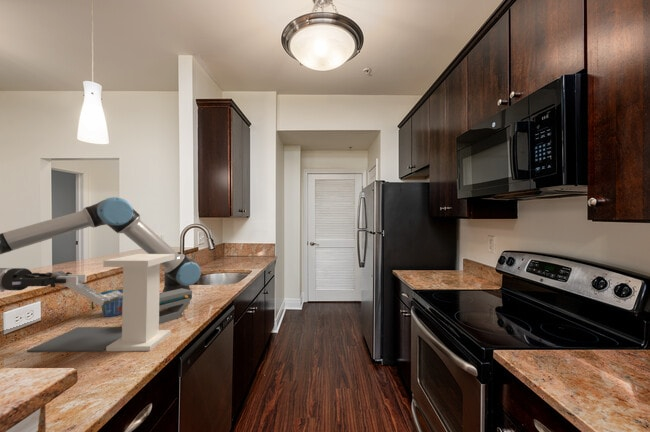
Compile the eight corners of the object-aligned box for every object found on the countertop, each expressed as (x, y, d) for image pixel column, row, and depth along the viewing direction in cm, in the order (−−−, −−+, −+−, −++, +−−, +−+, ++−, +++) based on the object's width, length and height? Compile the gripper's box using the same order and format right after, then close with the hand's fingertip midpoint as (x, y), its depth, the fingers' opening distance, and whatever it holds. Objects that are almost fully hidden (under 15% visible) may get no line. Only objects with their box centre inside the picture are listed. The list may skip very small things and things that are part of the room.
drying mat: (26, 352, 93) (26, 350, 93) (77, 328, 113) (77, 327, 113) (103, 351, 94) (103, 349, 94) (140, 328, 114) (140, 326, 114)
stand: (101, 354, 92) (103, 260, 92) (136, 332, 110) (137, 253, 110) (146, 353, 92) (147, 260, 93) (173, 331, 110) (174, 254, 111)
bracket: (50, 277, 98) (53, 272, 98) (74, 272, 108) (77, 267, 108) (101, 306, 98) (104, 301, 98) (121, 298, 108) (123, 294, 108)
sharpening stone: (132, 332, 109) (133, 304, 109) (122, 328, 113) (122, 301, 113) (191, 314, 131) (192, 290, 131) (181, 311, 135) (181, 288, 135)
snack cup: (87, 320, 122) (88, 296, 122) (95, 313, 131) (96, 290, 131) (131, 315, 128) (131, 293, 128) (135, 309, 138) (136, 287, 138)
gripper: (33, 284, 107) (98, 285, 108) (-16, 296, 91) (60, 296, 92) (34, 264, 107) (99, 265, 108) (-15, 272, 91) (61, 272, 92)
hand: (81, 279), depth 100 cm, fingers closed on bracket, 3 cm apart
